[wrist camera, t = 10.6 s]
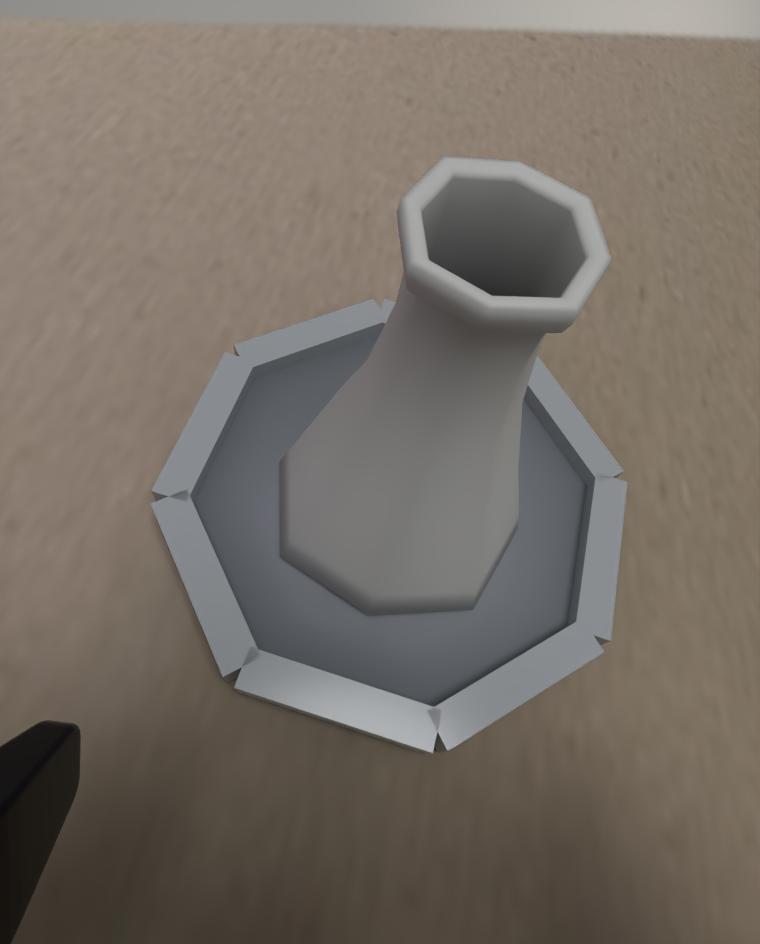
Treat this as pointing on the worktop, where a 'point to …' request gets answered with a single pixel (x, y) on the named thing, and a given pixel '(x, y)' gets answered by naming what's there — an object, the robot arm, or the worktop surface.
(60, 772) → the robot arm
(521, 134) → the worktop surface
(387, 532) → the flask
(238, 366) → the rimmed tray
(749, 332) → the worktop surface
